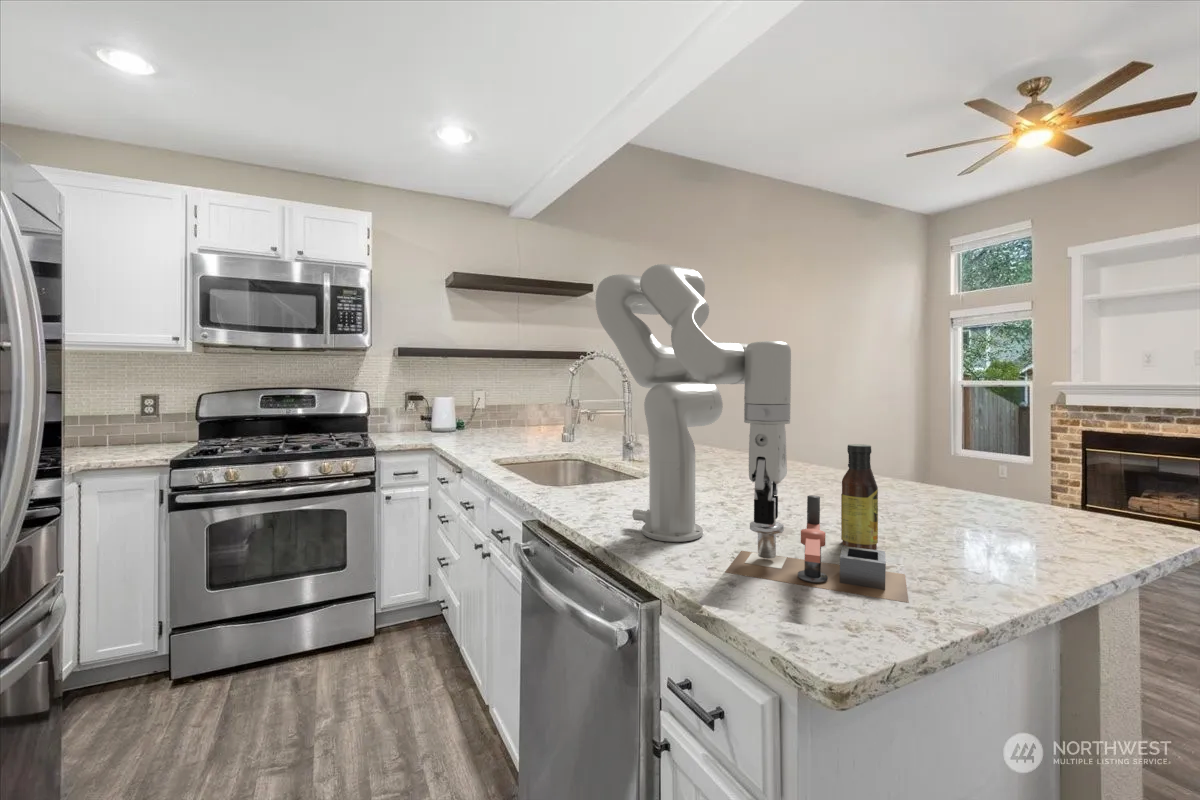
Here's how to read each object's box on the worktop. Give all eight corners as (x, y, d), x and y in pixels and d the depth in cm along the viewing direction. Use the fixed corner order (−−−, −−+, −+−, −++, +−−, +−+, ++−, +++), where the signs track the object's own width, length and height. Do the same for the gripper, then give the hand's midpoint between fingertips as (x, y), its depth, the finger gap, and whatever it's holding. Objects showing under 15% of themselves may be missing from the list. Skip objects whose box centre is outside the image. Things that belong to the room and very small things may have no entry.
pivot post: (795, 580, 83) (796, 547, 83) (799, 571, 87) (799, 540, 87) (826, 585, 81) (826, 552, 81) (828, 576, 85) (829, 543, 85)
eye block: (839, 582, 82) (839, 557, 82) (841, 569, 87) (842, 545, 87) (885, 590, 79) (885, 563, 79) (884, 576, 85) (885, 551, 84)
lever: (802, 527, 92) (802, 494, 92) (824, 529, 91) (825, 496, 90) (798, 562, 75) (799, 521, 75) (826, 565, 74) (826, 524, 73)
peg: (746, 558, 91) (746, 500, 90) (753, 548, 96) (753, 493, 95) (781, 563, 88) (780, 503, 88) (786, 552, 93) (785, 496, 93)
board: (724, 578, 87) (724, 571, 87) (741, 555, 97) (741, 549, 97) (908, 609, 75) (908, 601, 75) (904, 580, 85) (904, 573, 85)
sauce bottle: (882, 556, 97) (884, 447, 96) (845, 554, 98) (847, 446, 97) (871, 545, 103) (873, 443, 102) (837, 543, 104) (838, 442, 104)
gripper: (782, 418, 82) (781, 536, 83) (796, 411, 96) (795, 512, 97) (733, 417, 85) (732, 530, 86) (754, 410, 100) (753, 507, 101)
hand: (765, 519), depth 92 cm, fingers open, 3 cm apart
